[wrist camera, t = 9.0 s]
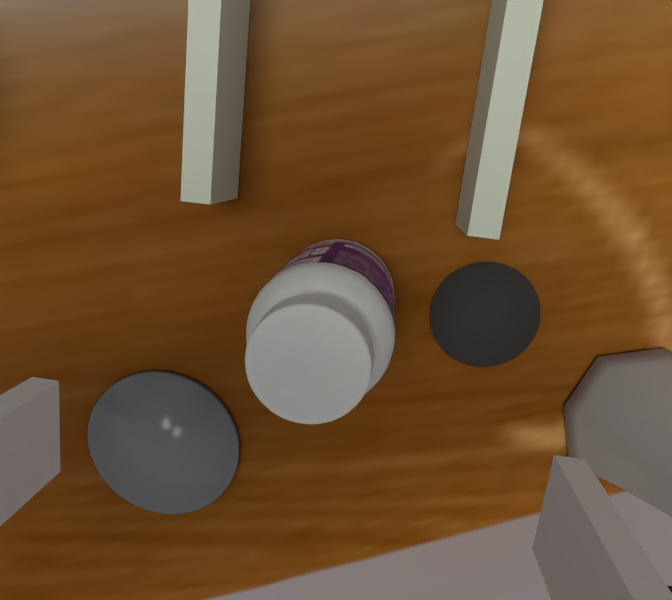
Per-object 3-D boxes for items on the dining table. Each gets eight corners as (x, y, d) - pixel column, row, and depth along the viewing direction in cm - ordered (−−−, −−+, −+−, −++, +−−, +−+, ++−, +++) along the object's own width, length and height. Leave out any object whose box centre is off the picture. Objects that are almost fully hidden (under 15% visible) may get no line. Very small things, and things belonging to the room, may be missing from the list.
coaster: (91, 497, 30) (87, 501, 30) (91, 360, 28) (87, 363, 28) (234, 520, 30) (232, 524, 29) (245, 382, 28) (243, 385, 27)
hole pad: (422, 358, 26) (422, 359, 26) (438, 256, 25) (439, 256, 25) (528, 372, 26) (528, 373, 26) (549, 269, 25) (550, 270, 25)
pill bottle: (318, 214, 25) (277, 244, 16) (416, 276, 26) (431, 341, 16) (261, 309, 27) (191, 388, 17) (354, 367, 27) (335, 475, 18)
